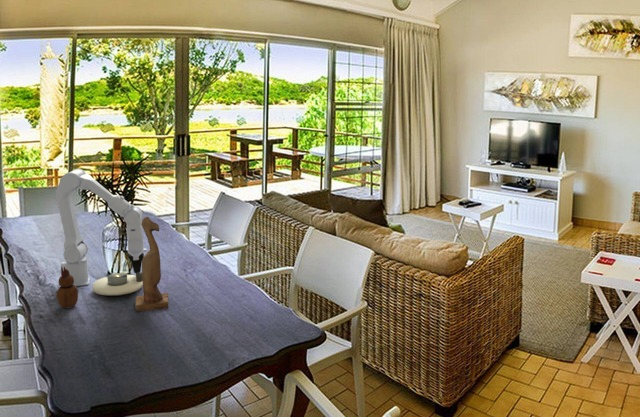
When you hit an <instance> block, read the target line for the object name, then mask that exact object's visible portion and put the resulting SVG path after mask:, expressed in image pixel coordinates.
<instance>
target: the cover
mask: <svg viewBox="0 0 640 417" xmlns="http://www.w3.org/2000/svg"><path fill="white" fill-rule="evenodd" d="M127 275H128V274H127V273H124V272H118V273H117V272H116V273H112V274H109V275H107V276H106V277H107V279H108V285H110V286H120V285H124V284H126V283H127Z"/></svg>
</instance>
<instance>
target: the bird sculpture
mask: <svg viewBox="0 0 640 417" xmlns="http://www.w3.org/2000/svg"><path fill="white" fill-rule="evenodd" d="M141 221H142V230H143V231H144V233H145V237H146V238H147V243H148V248H149V250H147V251H146V253H145V254H144V257H143V260H142V263H141V272H142V281H143V286H142V292H143V294H142V295H136V297H135V298H136V299H135V304H134V305H135V311H136V312H135V313H137V312H138V313H140V312H146V311H148V312H149V311H157V310H158V311H160V310H168V309H169V292H166V293H164V292H163V293H161V291H160V289H159V287H158V285H159V283H160V282H161V278H162V271H161V270H162V269H161V256H160V249H159V248H160V247H159V246H158V243H157V240H156V239H155V236H154V234H153V232H154V231H156V232H160V226H159V224H158V223H157V222H154V221H153V220H152V219H151V218H150V217H149V216H145V217H143V218H142V219H141Z"/></svg>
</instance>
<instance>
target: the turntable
mask: <svg viewBox="0 0 640 417" xmlns="http://www.w3.org/2000/svg"><path fill="white" fill-rule="evenodd" d="M107 277H108V276H104V277H102V278H99V279H97V280H95V281H94V282H93V283H92V292H93V293H95V294H98V295H101V296H106V295H120V296H123V295H122V294H125V295H128V294H127V293H129V294H132V293H133V292H136V291H139V290H140V289H141V288H143V281H142V271H140V272H138V273H135V274H134V275H133V274H127V283H126V284H124V285H120V286H110V285H108V279H107ZM131 292H132V293H131Z"/></svg>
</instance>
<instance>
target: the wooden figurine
mask: <svg viewBox="0 0 640 417" xmlns="http://www.w3.org/2000/svg"><path fill="white" fill-rule="evenodd" d="M73 283H74V278H73V276H71V275H70V273H69V270H67V269H65V267H64V271H63V268H62V267H61V266H60V277H59V278H58V285H59V287H58V289H57V290H56V300H57V303H58V305H59V306H60V307H61V308H62V309H70V308H72V307H75V306H76V304H77V302H78V299H79V290H78V286H75V285H73Z"/></svg>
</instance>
